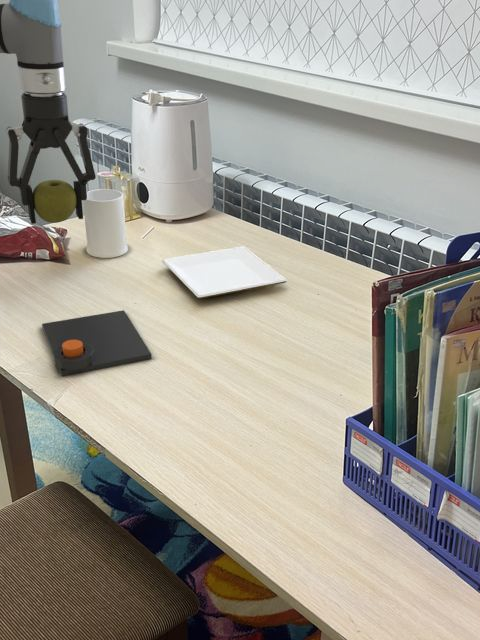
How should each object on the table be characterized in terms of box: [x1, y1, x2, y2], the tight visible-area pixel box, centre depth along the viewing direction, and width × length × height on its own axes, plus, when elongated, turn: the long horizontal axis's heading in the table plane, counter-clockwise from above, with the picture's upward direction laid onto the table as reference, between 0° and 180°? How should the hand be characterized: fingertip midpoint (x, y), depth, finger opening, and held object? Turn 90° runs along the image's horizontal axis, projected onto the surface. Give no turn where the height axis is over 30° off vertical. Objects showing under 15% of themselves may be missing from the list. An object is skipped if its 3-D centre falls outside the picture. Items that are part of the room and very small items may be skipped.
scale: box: [41, 309, 152, 377], centre depth 112 cm, size 16×14×2 cm
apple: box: [32, 179, 77, 224], centre depth 129 cm, size 8×8×7 cm
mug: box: [82, 188, 129, 259], centre depth 144 cm, size 12×8×12 cm
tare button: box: [62, 340, 83, 357], centre depth 105 cm, size 3×3×2 cm
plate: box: [161, 245, 288, 300], centre depth 135 cm, size 19×19×2 cm
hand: (56, 218), depth 131 cm, fingers closed on apple, 8 cm apart
